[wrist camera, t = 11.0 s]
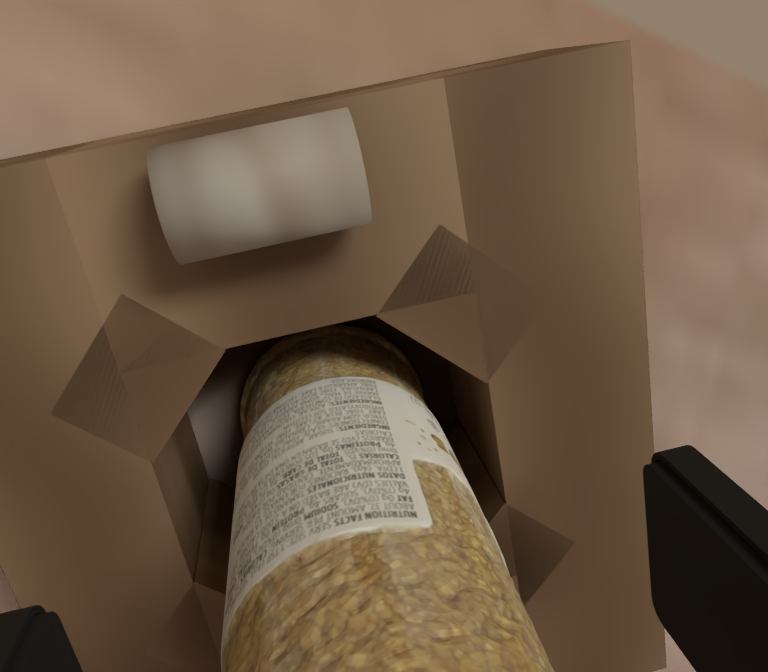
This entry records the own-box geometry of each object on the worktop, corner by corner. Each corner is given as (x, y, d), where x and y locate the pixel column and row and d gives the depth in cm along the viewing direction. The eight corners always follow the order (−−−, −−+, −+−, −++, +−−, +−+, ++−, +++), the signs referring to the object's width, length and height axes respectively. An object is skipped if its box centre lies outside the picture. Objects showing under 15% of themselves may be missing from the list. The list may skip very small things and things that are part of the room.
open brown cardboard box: (544, 49, 16) (689, 33, 10) (594, 562, 21) (709, 731, 15) (-59, 171, 15) (-246, 223, 9) (146, 679, 20) (101, 905, 14)
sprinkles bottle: (435, 457, 19) (771, 1210, 6) (265, 504, 18) (259, 1390, 6) (400, 295, 17) (758, 868, 5) (213, 342, 17) (53, 1096, 4)
